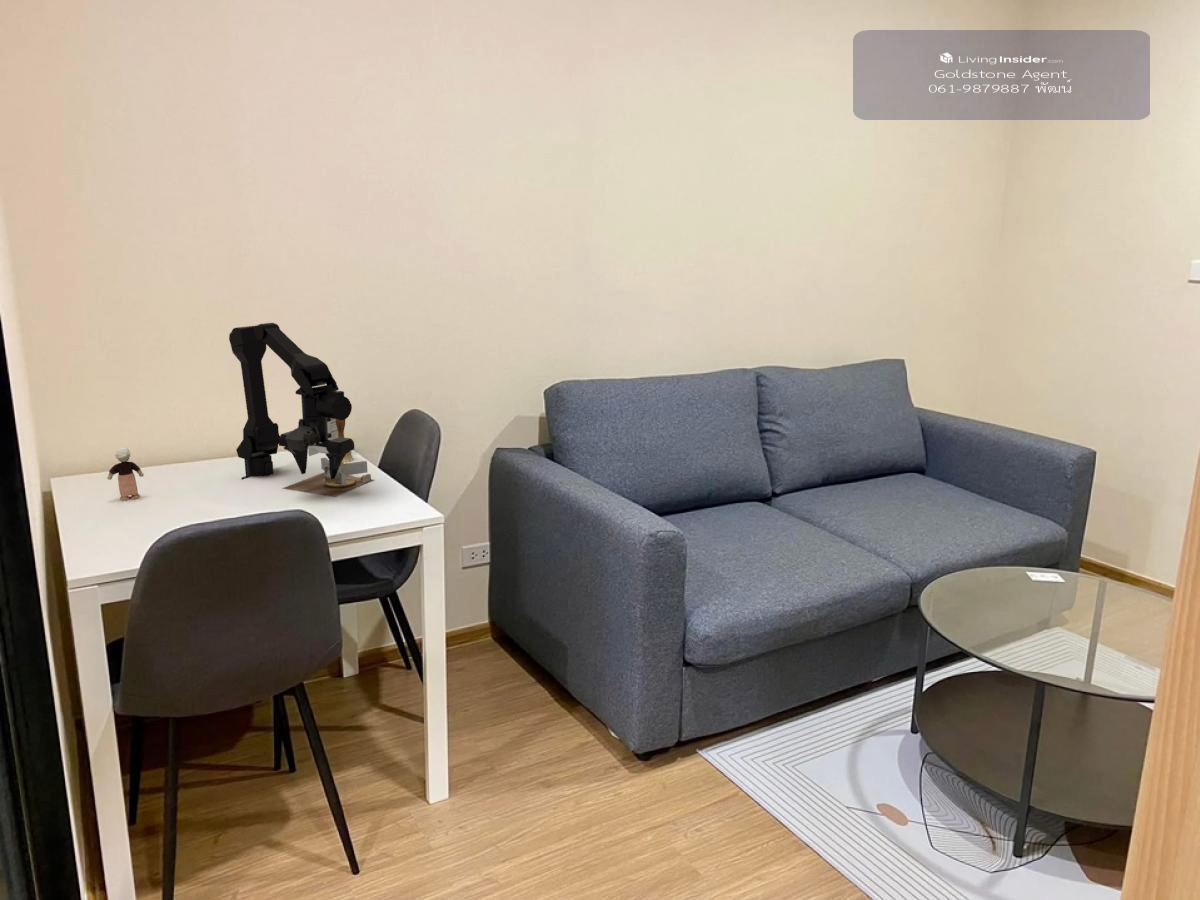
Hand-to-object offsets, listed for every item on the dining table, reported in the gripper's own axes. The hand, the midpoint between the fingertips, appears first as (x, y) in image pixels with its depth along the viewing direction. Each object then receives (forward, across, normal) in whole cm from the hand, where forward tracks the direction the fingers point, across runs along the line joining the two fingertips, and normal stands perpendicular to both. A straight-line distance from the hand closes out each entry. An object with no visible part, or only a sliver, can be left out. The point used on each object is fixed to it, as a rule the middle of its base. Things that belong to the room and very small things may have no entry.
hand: (318, 476), depth 228 cm
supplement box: (+5, -23, +32) cm, 40 cm away
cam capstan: (+3, +2, +7) cm, 8 cm away
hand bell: (+5, -12, +25) cm, 28 cm away
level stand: (+5, -1, +5) cm, 7 cm away
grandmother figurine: (+5, -39, -22) cm, 45 cm away
